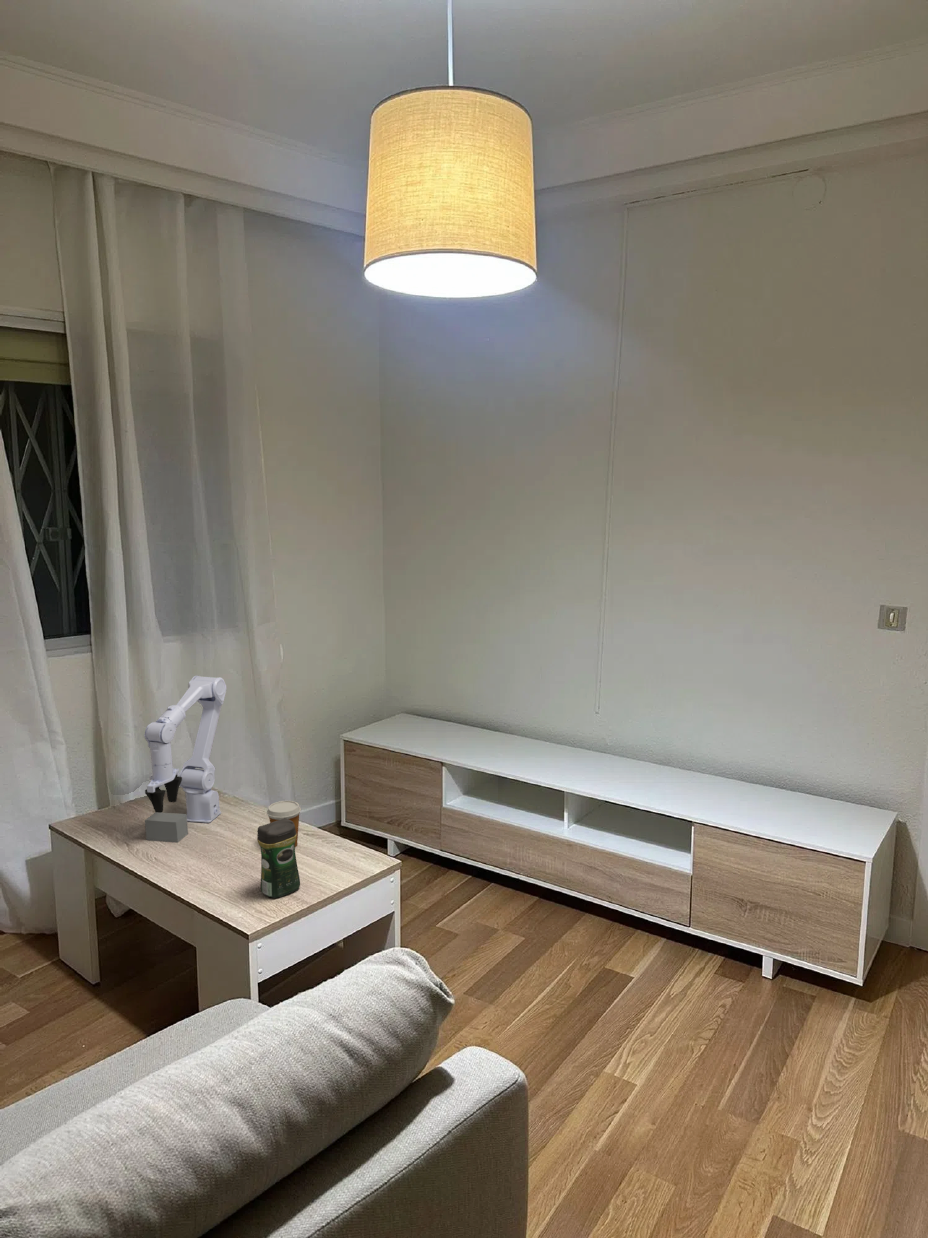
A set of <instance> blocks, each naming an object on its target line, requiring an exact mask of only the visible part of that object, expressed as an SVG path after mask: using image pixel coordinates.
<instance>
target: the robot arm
mask: <svg viewBox="0 0 928 1238" xmlns="http://www.w3.org/2000/svg"><path fill="white" fill-rule="evenodd" d="M227 688H228V687H227V684H226V682H225V680H224V678H223V677H220V676H219V677H215V676H213V677H212V676H202V675H201V676H200V675H194V676H193V677H192V678H191V679H190V680H189V682H188V684H187V689H186V691H185V693H184V694H183V695H182V697H181V698H179V700H178V702H177V703H176V704H172V705H169V706H168V707H167V709H166V710H165V711H164V712H163V713H162V714H161V716H159V718H157V719H156V721H151V723H149V724H148V725H146V727H145V729H144V731H145V732H144V734H143V736H144V739H145V741H146V742H147V747H148V748H149V749H150V751H149V752H150V760H151V761H150V763H151V771H152V772H151V773H152V774H151V776H149V780H150V782H149V783H148V784H147V785H146V789H145V790H144V794H145V795H146V796H147V797H148V799H149V800H150V803H151V805H152V807H153V810H154V813H155V812H159V813H164V812H163V811H164V798H165V794H166V797H167V801H168V803H177V800H178V793H179V790H180V789H179V788H182V791H183V792H184V793H185V804H186V814H187V822H191V823H192V822H194V823H204V824H205V823H206V824H207V823H211V822H213V820H215V819H216V818H217V817H219V816H220V815H221V814H222V811H221V809H220V806H221V805H220V796H219V792H218V791H217V790H213V789H212V788H213V786H214V784H215V781H216V777H215V772H216V767H215V766H214V764H213V763H212V762H211V761H210V758H211V754H212V748H213V745H214V740H215V736H216V732H217V727H218V724H219V723H218V722H219V718H220V714H221V711H222V706H223V705H224V703H225V702H224V701H225V698H226V694H227ZM197 702H198V704H199V705H201V706H202V712H201V715H200V716H201V718H200V720H199V725H198V730H197V734H196V738H195V742H194V745H193V746H194V747H193V750H192V755H191V756H190V758H189V759H187V760H185V761H184V762H183V764H182V768H181V770H180V768H175V767H174V766H173V756H172V755H173V753H172V741H173V740H174V737H175V734H176V731H177V728H178V727H179V726H180V725H181V724H182V723H183V722H184V720H185V719H186V718H187V717H186V715H187V714H186V712H188V711H189V709H191V707H192V706H194V704H196V703H197ZM163 785H164V788H165V789H161V786H163Z"/></svg>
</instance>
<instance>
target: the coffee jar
mask: <svg viewBox="0 0 928 1238" xmlns="http://www.w3.org/2000/svg"><path fill="white" fill-rule="evenodd" d="M256 837H257V843H258V846H259V847H260V855H261V858H260V859H261V860H260V861H261V862H260V863H261V868H260V870H261V871H260V891H261V892H262V893H263V894H264V896H266V897H268V898H273V899H277V898H280V897H285V896H286V895H288V894H291V893H293V892H296V891H297V890H299V888H300V887H301V880H300V878H301V877H300V875H299V874H300V873H299V867H298V862H297V856H296V847H295V840H296V829H295V825H294V823H293V822H292V821H291V820H289V819H287V818H283V819H281V820H278V821H275V822H272V823H270V822H269V823H266V824H264V825H260V826H258V827H257V836H256Z"/></svg>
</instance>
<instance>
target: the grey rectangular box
mask: <svg viewBox="0 0 928 1238" xmlns="http://www.w3.org/2000/svg"><path fill="white" fill-rule="evenodd" d="M144 825H145V835H146V841H152V842H153V841H154V842H167V843H179V842H181V840H183V839H184V838H185V837H186V836H187V835H189V830H188V829H189V828H188V821H187V813H176V812H175V813H173V812H162V813H159V812H155V811H154V812H153V813H152V814H151V815H150V816H148V817H147V818H146V819H145V820H144Z"/></svg>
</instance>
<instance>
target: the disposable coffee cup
mask: <svg viewBox="0 0 928 1238" xmlns="http://www.w3.org/2000/svg"><path fill="white" fill-rule="evenodd" d="M301 811H302V808H301V807H300V804H299V803H298V802H297V801H293V800H282V801H281V800H280V801H276V802H273V803H271V804H270V805H268V808H267V810H266V815H267V817H268V818H269V819H268V820H269V823H272V822H275V821H278V820H281V819H283V818H287V819H289V820H291V821H292V822H293V823H294V825H295V829H296V840H295V848H297V846H298V839H299V838H298V837H299V825H300V823H299V822H300V814H301Z"/></svg>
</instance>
